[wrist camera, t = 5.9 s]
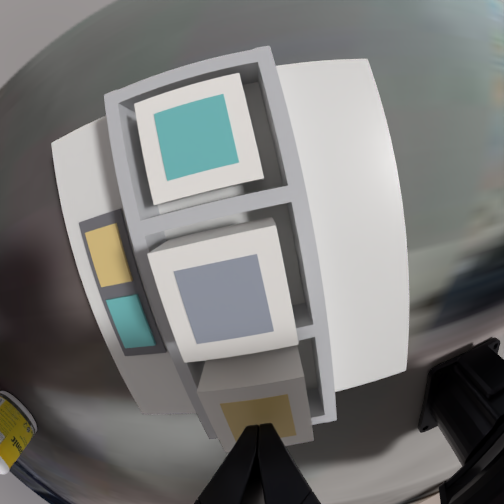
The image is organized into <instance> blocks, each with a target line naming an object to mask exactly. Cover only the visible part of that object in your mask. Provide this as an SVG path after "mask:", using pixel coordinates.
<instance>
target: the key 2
mask: <svg viewBox="0 0 504 504" xmlns="http://www.w3.org/2000/svg"><path fill="white" fill-rule="evenodd" d="M197 394H198V397H199V399H200V401H201V403H202V406H203V408H204V410H205V412H206V414H207V416H208V419H209V421H210V423H211V425H212V427H213V429H214V431H215V433H216V435H217V437H218V439H219V441H220V443H221V445H222V447H223V449H224V451H225V452H230V451H231V449H232V448H233V446H234V445H235V443H236V442H237V440H238V438H239V437H240V435H241V434H242V432H243V430H244V429H245V427H246V426H248V425H256V424H257V425H260V424H264V423H272V424H273V426H274V428H275V429H276V431H277V433H278V435H279V436H280V438H281V440H282V442H283V443H284V445H285V446H288V445H294V444H300V443H305V442H310V441H314V436H313V429H312V422H311V416H310V409H309V403H308V396H307V390H306V384H305V378H304V373H303V368H302V364H301V360H300V355H299V351H298V346H297V345H295V346H290V347H285V348H280V349H274V350H269V351H263V352H258V353H252V354H246V355H240V356H233V357H226V358H219V359H212V360H206V361H205V364H204V368H203V371H202V375H201V378H200V382H199V385H198V389H197Z"/></svg>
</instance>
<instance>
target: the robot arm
mask: <svg viewBox="0 0 504 504" xmlns="http://www.w3.org/2000/svg"><path fill="white" fill-rule="evenodd" d="M499 346H500V340H498V339H497V338H493V339H491V340H489V341H487V342H486V343H484V344H482V345H480V346H478V347H476V348H474V349H472V350H470V351H468V352H466V353H464V354H462V355H460V356H458V357H456V358H453V359H451V360H449V361H447V362H444V363H442V364H440V365H438V366H435V367H434V368H433V369H432V370H431V371H430V372H429V376H428V382H427V388H426V393H425V398H424V403H423V408H422V412H421V417H420V421H419V425H418V429H419V431H420V432H425V431H428V430H430V429H432V428H434V427H436V426H438V427H439V428H440V430H441V432H442V433H443V435H444V436H445V438H446V440H447V441H448V443H449V444H450V446H451V448H452V449H453V451H454V453H455V454H456V456H457V458H458V459H459V461H460V463H461V464H462V466H463V467H461V468H460V469H459V470H458V471H457V472H456V473H455V474H454V475H453V476H452V477H451V478H450V479H449V480H447V481H445V482H444V483H443V484H441V485H440V486H439V493H440V500H441V504H504V359H502V358H501V357H500V356H499V355H498V350H499ZM194 504H321V503H320V501H319V500H318V499H317V497H316V495H315V494H314V492H312V489H311V488H310V486H309V485H308V483H307V481H306V480H305V478H304V477H303V475H302V473H301V472H300V470H299V469H298V467H297V465H296V464H295V462H294V460H293V459H292V457H291V455H290V454H289V452H288V450H287V448H286V447H285V445H284V443H283V442H282V440H281V438H280V436H279V435H278V433H277V431H276V429H275V428H274V426H273V424H272V423H264V424H260V425H257V424H256V425H248V426H246V427H245V429H244V430H243V432H242V434H241V435H240V437H239V438H238V440H237V442H236V443H235V445H234V446H233V448H232V449H231V451H230V452H229V454H228V455H227V457H226V458H225V460H224V462H223V463H222V464H221V466H220V467H219V469H218V470H217V472H216V473H215V475H214V476H213V478H212V479H211V481H210V482H209V483H208V485H207V486H206V488H205V489H204V490H203V492H202V493H201V495H200V496H199V497H198V500H196V501H195V503H194Z"/></svg>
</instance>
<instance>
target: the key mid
mask: <svg viewBox="0 0 504 504" xmlns="http://www.w3.org/2000/svg"><path fill="white" fill-rule="evenodd" d="M147 255H148V259H149V262H150V265H151V269H152V272H153V275H154V279H155V282H156V285H157V288H158V291H159V294H160V297H161V300H162V303H163V306H164V309H165V312H166V315H167V318H168V321H169V324H170V326H171V329H172V332H173V335H174V337H175V340H176V343H177V345H178V348H179V351H180V353H181V356H182V358H183V361H184V363H186V362H195V361H204V360H212V359H219V358H226V357H233V356H240V355H246V354H252V353H258V352H263V351H269V350H274V349H280V348H285V347H290V346H295V345H299V343H298V337H297V331H296V326H295V320H294V315H293V309H292V304H291V299H290V293H289V288H288V283H287V278H286V272H285V267H284V262H283V257H282V252H281V247H280V242H279V237H278V233H277V228H276V224H275V222H274V220H273V218H272V217H267V218H262V219H258V220H253V221H248V222H244V223H239V224H235V225H230V226H226V227H221V228H217V229H212V230H208V231H204V232H199V233H195V234H191V235H186V236H182V237H178V238H174V239H170V240H168V241H166V242H165V243H163V244H162V245H160V246H158V247H157V248H155V249H154V250H152V251H151V252H149V253H148V254H147Z"/></svg>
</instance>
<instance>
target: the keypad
mask: <svg viewBox="0 0 504 504" xmlns="http://www.w3.org/2000/svg"><path fill="white" fill-rule="evenodd" d="M235 73H239V74H240V78H241V82H242V86H243V90H244V94H245V98H246V102H247V106H248V110H249V114H250V119H251V123H252V127H253V131H254V136H255V140H256V144H257V148H258V153H259V157H260V162H261V166H262V171H263V175H264V179H263V180H259V181H255V182H250V183H245V184H241V185H237V186H232V187H228V188H224V189H219V190H215V191H211V192H207V193H203V194H199V195H195V196H191V197H187V198H183V199H180V200H176V201H172V202H167V203H163V204H158V205H154V204H153V199H152V195H151V191H150V186H149V182H148V177H147V172H146V168H145V163H144V158H143V153H142V147H141V142H140V137H139V131H138V125H137V119H136V113H135V107H134V104H135V103H138V102H140V101H143V100H146V99H148V98H151V97H154V96H157V95H160V94H163V93H166V92H169V91H172V90H175V89H178V88H181V87H185V86H188V85H192V84H195V83H199V82H202V81H206V80H210V79H214V78H218V77H222V76H226V75H231V74H235ZM104 100H105V108H106V116H104V117H102V118H100V119H97V120H95V121H93V122H91V123H89V124H87V125H85V126H83V127H81V128H79V129H77V130H75V131H73V132H71V133H69V134H67V135H65V136H63V137H62V138H60V139H58V140H56V141H54V142H53V143H51V144H52V153H53V161H54V168H55V174H56V180H57V186H58V191H59V197H60V202H61V207H62V211H63V216H64V220H65V224H66V228H67V232H68V236H69V240H70V244H71V247H72V251H73V254H74V258H75V261H76V264H77V268H78V271H79V274H80V277H81V280H82V283H83V286H84V289H85V292H86V294H87V297H88V300H89V303H90V305H91V308H92V311H93V313H94V316H95V318H96V321H97V323H98V326H99V328H100V330H101V333H102V335H103V337H104V340H105V342H106V344H107V346H108V349H109V351H110V353H111V355H112V357H113V359H114V361H115V364H116V366H117V368H118V370H119V372H120V374H121V376H122V378H123V379H124V381H125V383H126V385H127V387H128V389H129V391H130V393H131V394H132V396H133V398H134V400H135V402H136V403H137V405H138V407H139V409H140V410H141V412H142V414H190V413H196V414H197V416H198V418H199V420H200V422H201V424H202V426H203V428H204V430H205V432H206V433H207V435H208V437H209V439H216V438H218V437H217V435H216V433H215V431H214V429H213V427H212V425H211V423H210V421H209V419H208V416H207V414H206V412H205V410H204V408H203V406H202V403H201V401H200V399H199V397H198V394H197V389H198V385H199V382H200V378H201V375H202V371H203V368H204V364H205V361H206V360H204V361H195V362H186V363H184V361H183V358H182V356H181V353H180V351H179V348H178V345H177V343H176V340H175V337H174V335H173V332H172V329H171V326H170V324H169V321H168V318H167V315H166V312H165V309H164V306H163V303H162V300H161V297H160V294H159V291H158V288H157V285H156V282H155V279H154V275H153V272H152V269H151V265H150V262H149V259H148V255H147V254H148V253H149V252H151V251H152V250H154V249H155V248H157V247H158V246H160V245H162V244H163V243H165V242H166V241H168V240H170V239H174V238H178V237H182V236H186V235H191V234H195V233H199V232H204V231H208V230H212V229H217V228H221V227H226V226H230V225H235V224H239V223H244V222H248V221H253V220H258V219H262V218H267V217H272V218H273V220H274V222H275V224H276V228H277V233H278V237H279V242H280V247H281V252H282V257H283V262H284V267H285V272H286V278H287V283H288V288H289V293H290V299H291V304H292V309H293V315H294V320H295V326H296V331H297V337H298V343H299V345H297V346H298V351H299V355H300V360H301V364H302V368H303V373H304V378H305V384H306V390H307V396H308V403H309V409H310V416H311V422H312V425H315V424H319V423H324V422H326V423H327V422H331V421H335V420H337V415H336V400H335V392H337V391H341V390H345V389H349V388H352V387H356V386H360V385H363V384H366V383H370V382H373V381H376V380H379V379H383V378H386V377H389V376H392V375H395V374H397V373H400V372H403V371H406V366H407V353H408V335H409V273H408V255H407V241H406V230H405V221H404V212H403V205H402V197H401V191H400V184H399V178H398V172H397V167H396V162H395V157H394V152H393V147H392V142H391V138H390V134H389V129H388V125H387V121H386V118H385V114H384V110H383V106H382V103H381V99H380V96H379V93H378V89H377V86H376V83H375V80H374V77H373V74H372V71H371V68H370V65H369V62H368V59H344V60H326V61H314V62H304V63H295V64H287V65H280V66H276V65H275V62H274V59H273V55H272V52H271V49H270V46H264V47H258V48H254V50H248V51H243V52H238V53H233V54H228V55H224V56H220V57H215V58H211V59H207V60H204V61H200V62H196V63H193V64H189V65H186V66H182V67H179V68H176V69H173V70H170V71H167V72H164V73H161V74H158V75H155V76H152V77H150V78H147V79H144V80H142V81H139V82H136V83H134V84H131V85H129V86H127V87H124V88H122V89H119V90H114V91H112V92H110V93H107V94H105V95H104Z"/></svg>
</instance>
